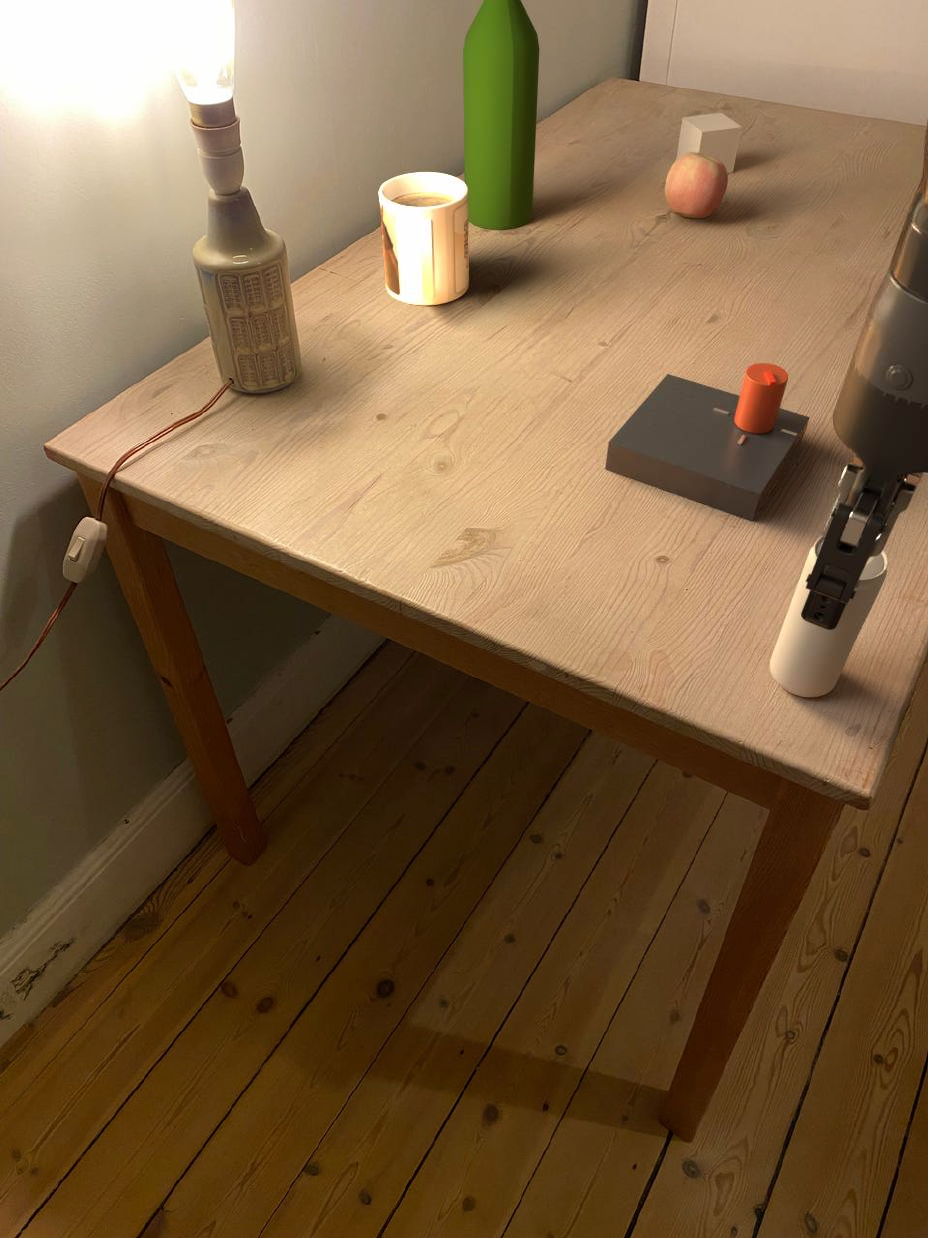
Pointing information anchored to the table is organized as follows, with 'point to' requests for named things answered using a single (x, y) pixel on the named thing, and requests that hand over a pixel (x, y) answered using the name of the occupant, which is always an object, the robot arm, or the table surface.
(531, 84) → the wine bottle
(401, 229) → the mug
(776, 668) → the beverage can
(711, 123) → the white block
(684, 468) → the base block
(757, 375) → the control knob
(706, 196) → the apple
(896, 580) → the table surface
